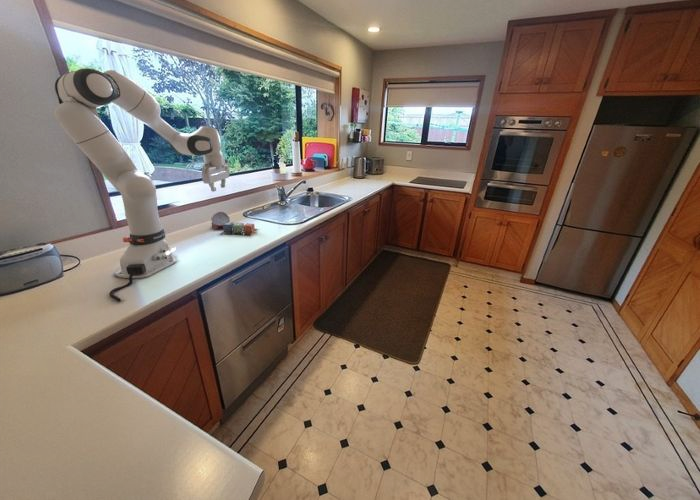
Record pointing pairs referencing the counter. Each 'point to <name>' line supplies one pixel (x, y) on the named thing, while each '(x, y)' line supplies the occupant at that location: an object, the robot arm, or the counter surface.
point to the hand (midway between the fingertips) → (218, 189)
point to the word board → (236, 233)
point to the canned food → (219, 220)
